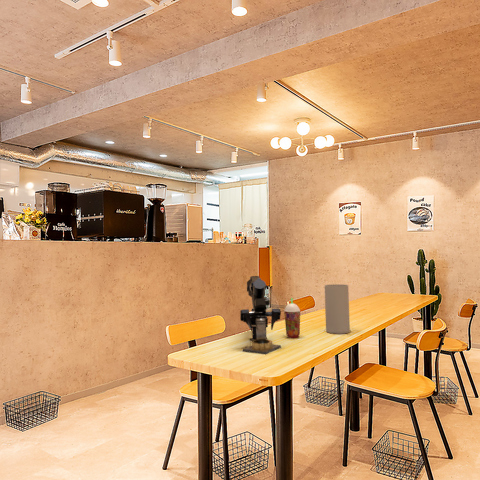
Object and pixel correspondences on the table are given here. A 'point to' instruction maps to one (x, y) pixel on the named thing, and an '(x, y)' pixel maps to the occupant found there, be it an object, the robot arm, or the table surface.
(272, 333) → the table surface
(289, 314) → the smoothie
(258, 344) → the ring collar
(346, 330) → the cylinder vase
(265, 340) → the piston
